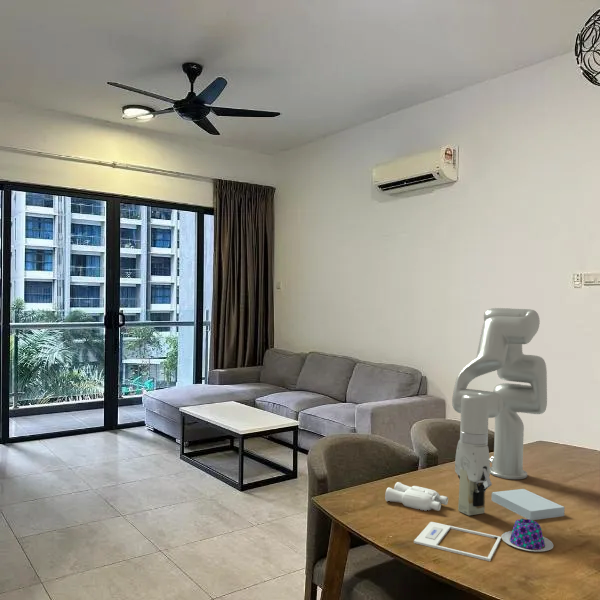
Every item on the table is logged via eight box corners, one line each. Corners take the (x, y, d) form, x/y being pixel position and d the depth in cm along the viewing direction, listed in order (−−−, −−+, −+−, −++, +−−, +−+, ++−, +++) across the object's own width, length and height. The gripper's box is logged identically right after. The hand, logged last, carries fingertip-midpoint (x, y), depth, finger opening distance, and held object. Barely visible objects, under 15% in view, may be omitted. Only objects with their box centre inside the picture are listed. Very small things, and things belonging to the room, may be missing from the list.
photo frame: (430, 520, 151) (501, 536, 142) (430, 524, 151) (501, 540, 142) (413, 540, 138) (490, 558, 129) (413, 544, 138) (489, 563, 129)
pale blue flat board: (491, 502, 170) (491, 492, 170) (523, 498, 174) (523, 488, 174) (530, 522, 155) (530, 511, 155) (564, 517, 159) (564, 507, 159)
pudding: (512, 529, 149) (513, 509, 149) (560, 544, 141) (561, 523, 141) (493, 543, 140) (493, 522, 140) (542, 559, 132) (543, 536, 132)
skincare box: (468, 516, 157) (469, 472, 157) (457, 511, 160) (458, 468, 161) (485, 513, 160) (487, 469, 160) (474, 507, 163) (475, 465, 164)
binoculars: (398, 494, 174) (399, 479, 174) (449, 506, 165) (449, 490, 165) (383, 503, 166) (384, 487, 166) (436, 516, 157) (436, 499, 157)
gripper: (444, 432, 167) (442, 494, 167) (483, 446, 151) (481, 514, 151) (465, 430, 169) (463, 491, 169) (505, 444, 154) (503, 511, 154)
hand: (471, 501), depth 160 cm, fingers closed on skincare box, 4 cm apart
